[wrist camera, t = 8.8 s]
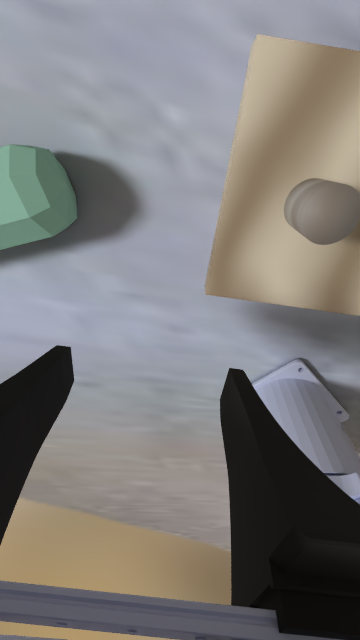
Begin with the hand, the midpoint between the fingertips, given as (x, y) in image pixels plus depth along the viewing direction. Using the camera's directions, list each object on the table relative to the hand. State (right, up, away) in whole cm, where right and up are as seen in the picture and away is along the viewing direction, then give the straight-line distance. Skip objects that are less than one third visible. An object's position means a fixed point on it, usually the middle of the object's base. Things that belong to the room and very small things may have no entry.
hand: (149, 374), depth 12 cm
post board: (+14, +9, +5) cm, 17 cm away
